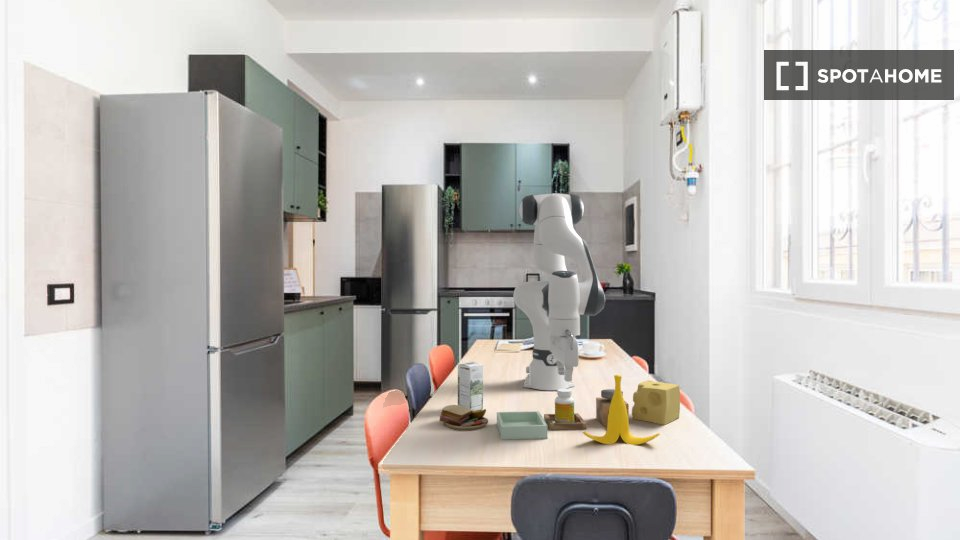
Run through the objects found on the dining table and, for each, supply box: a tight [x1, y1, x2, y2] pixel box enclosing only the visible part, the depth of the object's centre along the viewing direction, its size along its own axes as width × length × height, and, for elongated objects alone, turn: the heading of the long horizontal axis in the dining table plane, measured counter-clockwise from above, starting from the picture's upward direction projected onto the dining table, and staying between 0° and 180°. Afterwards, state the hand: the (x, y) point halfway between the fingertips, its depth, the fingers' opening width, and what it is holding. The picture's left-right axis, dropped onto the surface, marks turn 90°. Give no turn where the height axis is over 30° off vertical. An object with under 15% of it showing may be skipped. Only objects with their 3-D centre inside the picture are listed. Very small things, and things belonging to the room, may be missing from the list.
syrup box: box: [457, 361, 484, 411], centre depth 168 cm, size 6×6×14 cm
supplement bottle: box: [554, 388, 575, 423], centre depth 153 cm, size 5×5×10 cm
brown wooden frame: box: [543, 412, 588, 431], centre depth 153 cm, size 10×10×2 cm
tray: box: [496, 410, 548, 441], centre depth 147 cm, size 14×12×3 cm
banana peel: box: [582, 374, 661, 446], centre depth 138 cm, size 16×19×17 cm
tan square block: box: [595, 388, 630, 427], centre depth 155 cm, size 8×7×9 cm
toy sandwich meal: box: [439, 404, 489, 431], centre depth 154 cm, size 12×14×5 cm
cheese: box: [631, 380, 681, 426], centre depth 158 cm, size 10×11×10 cm
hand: (564, 377), depth 152 cm, fingers open, 8 cm apart
